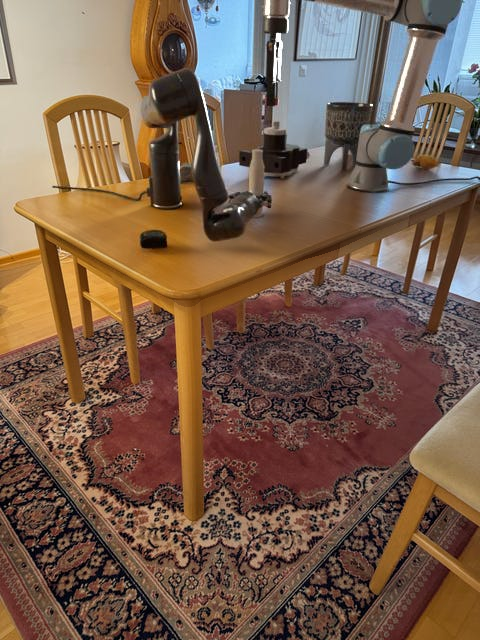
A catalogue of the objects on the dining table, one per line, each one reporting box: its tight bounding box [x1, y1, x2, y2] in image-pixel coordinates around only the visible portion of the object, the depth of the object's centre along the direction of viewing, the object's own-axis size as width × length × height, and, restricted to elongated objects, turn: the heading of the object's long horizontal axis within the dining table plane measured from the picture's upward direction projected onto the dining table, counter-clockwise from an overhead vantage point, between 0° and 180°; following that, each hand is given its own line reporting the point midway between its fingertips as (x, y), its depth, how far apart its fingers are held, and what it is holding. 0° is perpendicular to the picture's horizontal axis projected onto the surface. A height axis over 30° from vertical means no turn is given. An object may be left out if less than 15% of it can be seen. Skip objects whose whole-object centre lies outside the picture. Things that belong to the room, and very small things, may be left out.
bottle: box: [248, 148, 265, 218], centre depth 139 cm, size 4×4×20 cm
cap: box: [264, 97, 280, 107], centre depth 145 cm, size 4×4×2 cm
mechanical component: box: [238, 120, 311, 179], centre depth 191 cm, size 22×21×30 cm
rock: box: [179, 161, 194, 184], centre depth 179 cm, size 13×9×6 cm, turn 131°
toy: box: [410, 154, 440, 170], centre depth 211 cm, size 11×6×15 cm
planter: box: [323, 101, 374, 172], centre depth 204 cm, size 20×20×26 cm
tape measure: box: [139, 229, 168, 250], centre depth 117 cm, size 7×7×4 cm
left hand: (257, 193), depth 143 cm, fingers closed on bottle, 4 cm apart
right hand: (271, 105), depth 145 cm, fingers closed on cap, 4 cm apart
